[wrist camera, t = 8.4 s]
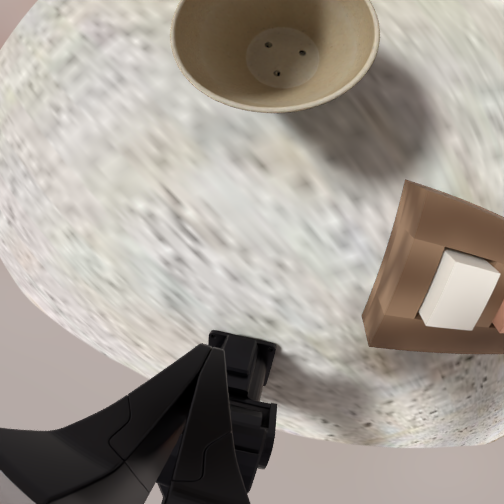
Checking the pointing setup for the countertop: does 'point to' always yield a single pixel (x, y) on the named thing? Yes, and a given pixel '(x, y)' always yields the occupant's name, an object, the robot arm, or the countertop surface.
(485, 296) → the cream key
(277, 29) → the flower pot
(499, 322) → the terracotta key
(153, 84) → the countertop surface
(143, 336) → the countertop surface
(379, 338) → the key console
